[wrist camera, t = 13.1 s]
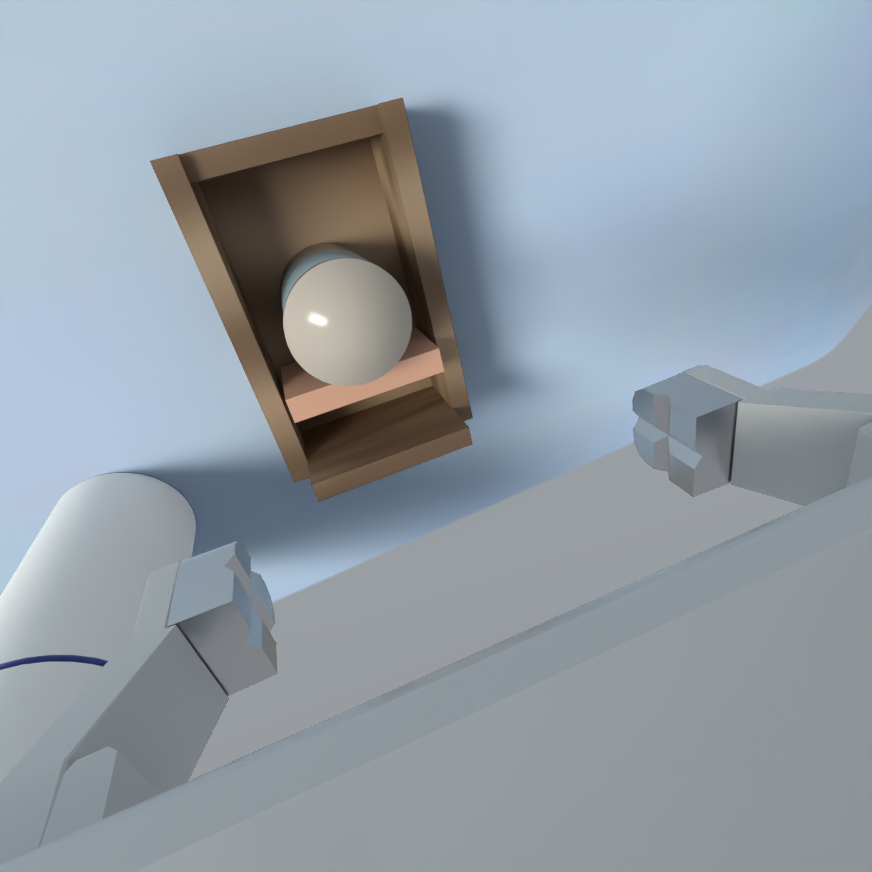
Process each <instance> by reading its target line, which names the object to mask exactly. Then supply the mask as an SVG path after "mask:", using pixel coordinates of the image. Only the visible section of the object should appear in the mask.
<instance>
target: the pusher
mask: <svg viewBox="0 0 872 872" xmlns="http://www.w3.org/2000/svg"><path fill="white" fill-rule="evenodd" d="M441 372H444V367H443V363H442V359H441V355H440V351H439V348H438V347H437V346H436V345H435V344H434V343H433V342H431V341H430V340H429V339H428V338H427V337H426V336H425V335H424V334H423V333H422V332H420V331H419V330H418V329H417V328H416V327H415V326H414V325H413V324H412V331H411V336H410V340H409V343H408V346H407V348H406V350H405V352H404V354H403V356H402V357H401V359H400V360H399V362H398V363H397V364H396V365H395V366H394V367H393V368H392V369H391V370H390V371H389V372H388V373H386V374H385V375H383V376H382V377H380V378H378V379H376V380H374V381H372V382H369V383H366V384H362V385H357V386H338V385H333V384H329V383H326V382H323V381H321V380H319V379H317V378H315V377H314V376H312V375H311V374H309V373H308V372H307V371H305V370H304V369H303V368H302V367H301V366H300V365H299V363H298V362H294V363H291V364H288V365H284V366H281V374H282V381H283V388H284V395H285V401H286V403H287V405H288V408H289V410H290V413H291V415H292V417H293V420H294V422H295V423H296V422H299V421H302V420H305V419H308V418H311V417H314V416H317V415H320V414H322V413H325V412H328V411H331V410H334V409H337V408H340V407H343V406H346V405H349V404H351V403H354V402H357V401H360V400H363V399H366V398H369V397H372V396H375V395H377V394H380V393H383V392H386V391H389V390H392V389H395V388H398V387H401V386H404V385H406V384H409V383H412V382H415V381H418V380H421V379H424V378H427V377H430V376H432V375H435V374H438V373H441Z"/></svg>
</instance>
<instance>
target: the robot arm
mask: <svg viewBox="0 0 872 872" xmlns="http://www.w3.org/2000/svg"><path fill="white" fill-rule="evenodd" d="M633 411H634V412H635V413H636V414H637V415H638V416H639V419H638V421H637V423H636V425H635V427H634V429H633V432H634V443H635V445H636V448H637V450H638V452H639V455H640V456H641V457H642V458H643V460H644V461H645V462H646V463H647V464H648V465H650V466H651V467H652V468H654V469H658V470H663V471H668V474H669V480H670V481H671V482H673V483H674V484H676V485H677V486H679V487H680V488H681V489H683V490H684V491H685V492H687V493H688V494H690V495H691V496H692V497H695V496H697V495H700V494H702V493H705V492H708V491H710V490H713V489H715V488H718V487H720V486H723V485H725V484H728V483H731V485H735V486H738V487H741V488H745V489H748V490H752V491H755V492H759V493H762V494H766V495H769V496H772V497H776V498H779V499H782V500H786V501H789V502H793V503H796V504H799V505H803V506H804V507H802V508H799V509H797V510H795V511H793V512H791V513H788V514H786V515H784V516H782V517H779V518H777V519H775V520H773V521H770V522H768V523H766V524H763V525H761V526H759V527H757V528H755V529H752V530H750V531H748V532H746V533H743V534H741V535H739V536H737V537H734V538H732V539H730V540H727V541H725V542H723V543H721V544H718V545H716V546H714V547H712V548H710V549H707V550H705V551H703V552H701V553H698V554H696V555H694V556H691V557H689V558H687V559H685V560H683V561H680V562H678V563H676V564H673V565H671V566H669V567H667V568H665V569H662V570H660V571H658V572H655V573H653V574H651V575H649V576H646V577H644V578H642V579H640V580H637V581H635V582H633V583H631V584H628V585H626V586H624V587H622V588H620V589H617V590H615V591H613V592H611V593H608V594H606V595H604V596H602V597H599V598H597V599H595V600H593V601H590V602H588V603H586V604H584V605H582V606H580V607H577V608H575V609H573V610H571V611H568V612H566V613H564V614H561V615H559V616H557V617H555V618H553V619H551V620H548V621H546V622H544V623H541V624H539V625H537V626H535V627H532V628H530V629H528V630H526V631H523V632H521V633H519V634H517V635H515V636H512V637H510V638H508V639H506V640H504V641H501V642H499V643H497V644H495V645H492V646H490V647H488V648H485V649H483V650H481V651H479V652H477V653H474V654H472V655H470V656H468V657H465V658H463V659H461V660H459V661H456V662H454V663H452V664H450V665H448V666H445V667H443V668H441V669H439V670H436V671H434V672H432V673H430V674H427V675H425V676H423V677H421V678H418V679H416V680H414V681H412V682H409V683H407V684H405V685H403V686H401V687H398V688H396V689H394V690H392V691H389V692H387V693H385V694H383V695H380V696H378V697H376V698H374V699H371V700H369V701H367V702H365V703H363V704H360V705H358V706H356V707H354V708H351V709H349V710H347V711H344V712H342V713H340V714H338V715H335V716H333V717H331V718H329V719H327V720H324V721H322V722H320V723H318V724H315V725H313V726H311V727H309V728H306V729H304V730H302V731H300V732H298V733H296V734H293V735H291V736H289V737H286V738H284V739H282V740H280V741H277V742H275V743H273V744H271V745H269V746H266V747H264V748H262V749H259V750H257V751H255V752H253V753H251V754H248V755H246V756H244V757H241V758H239V759H237V760H235V761H232V762H230V763H228V764H226V765H224V766H221V767H219V768H217V769H215V770H213V771H210V772H208V773H206V774H204V775H201V776H199V777H197V778H194V779H192V780H190V781H188V780H189V778H190V776H191V774H192V772H193V770H194V768H195V766H196V764H197V762H198V760H199V758H200V756H201V754H202V752H203V750H204V748H205V746H206V744H207V742H208V740H209V738H210V736H211V734H212V732H213V730H214V728H215V726H216V724H217V722H218V720H219V718H220V716H221V714H222V712H223V710H224V708H225V706H226V704H227V702H228V700H229V698H228V696H229V695H231V694H234V693H236V692H238V691H240V690H242V689H245V688H247V687H249V686H251V685H253V684H255V683H258V682H260V681H262V680H264V679H267V678H269V677H271V676H273V675H275V674H277V654H276V642H275V641H274V639H273V637H272V635H271V633H270V630H271V629H272V627H273V626H274V624H275V618H274V610H273V605H272V601H271V597H270V594H269V592H268V589H267V587H266V584H265V582H264V581H263V579H262V577H261V575H260V574H257V573H255V572H253V571H251V557H250V555H249V554H248V552H247V550H246V549H245V547H244V545H243V544H242V543H240V542H239V541H235V542H233V543H230V544H227V545H224V546H221V547H219V548H216V549H213V550H210V551H207V552H205V553H202V554H199V555H196V556H193V557H190V558H188V559H185V560H183V561H179V562H176V563H174V564H171V565H168V566H166V567H163V568H161V569H158V570H155V571H153V572H152V573H151V574H150V575H149V576H148V579H147V583H146V587H145V591H144V595H143V599H142V602H141V606H140V610H139V614H138V618H137V622H136V626H135V629H134V633H133V637H132V641H131V642H130V643H127V644H125V645H123V646H121V647H120V648H119V650H118V651H117V652H116V653H115V654H114V655H113V656H112V657H111V659H110V660H109V661H108V662H107V663H106V664H105V665H104V666H103V668H102V669H101V670H100V671H99V672H98V673H97V674H96V675H95V677H94V678H93V679H92V680H91V681H90V682H89V683H88V684H87V686H86V687H85V688H84V689H83V690H82V691H81V692H80V693H79V695H78V696H77V697H76V698H75V699H74V700H73V701H72V702H71V704H70V705H69V706H68V707H67V708H66V709H65V710H64V711H63V713H62V714H61V715H60V716H59V717H58V718H57V719H56V720H55V722H54V723H53V724H52V725H51V726H50V727H49V728H48V729H47V731H46V732H45V733H44V734H43V735H42V736H41V737H40V738H39V740H38V741H37V742H36V743H35V744H34V745H33V746H32V747H31V749H30V750H29V751H28V752H27V753H26V754H25V755H24V756H23V758H22V759H21V760H20V761H19V762H18V763H17V764H16V765H15V767H14V768H13V769H12V770H11V771H10V772H9V773H8V774H7V776H6V777H5V778H4V779H3V780H2V781H1V782H0V872H872V394H859V393H845V392H830V391H815V390H800V389H784V388H772V389H769V390H765V389H763V388H761V387H758V386H756V385H753V384H751V383H748V382H746V381H744V380H741V379H739V378H736V377H734V376H731V375H729V374H727V373H724V372H722V371H719V370H717V369H715V368H712V367H710V366H707V365H699V366H696V367H694V368H691V369H689V370H687V371H684V372H682V373H679V374H678V375H676V376H673V377H671V378H668V379H666V380H663V381H661V382H658V383H656V384H653V385H651V386H648V387H646V388H643V389H641V390H638V391H635V394H634V397H633Z"/></svg>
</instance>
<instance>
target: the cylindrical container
mask: <svg viewBox="0 0 872 872" xmlns="http://www.w3.org/2000/svg"><path fill="white" fill-rule="evenodd" d="M195 533H196V519H195V516H194V513H193V510H192V508H191V506H190V505H189V503H188V501H187V500H186V499H185V498H184V497H183V496H182V495H181V494H180V493H179V492H178V491H177V490H176V489H174V488H173V487H171V486H170V485H168V484H167V483H165V482H162V481H160V480H158V479H156V478H153V477H149V476H145V475H142V474H134V473H110V474H104V475H98V476H96V477H93V478H90V479H87V480H84V481H82V482H81V483H79V484H77V485H76V486H74V487H72V488H71V489H70V490H69V491H68V492H66V493H65V494H64V495H63V496H62V497H61V499H60V500H59V502H58V503H57V505H56V506H55V508H54V509H53V511H52V513H51V514H50V516H49V517H48V519H47V521H46V522H45V524H44V526H43V527H42V529H41V531H40V532H39V534H38V536H37V537H36V539H35V540H34V542H33V544H32V545H31V547H30V549H29V550H28V552H27V554H26V555H25V557H24V559H23V560H22V562H21V563H20V565H19V567H18V568H17V570H16V572H15V573H14V575H13V577H12V578H11V580H10V581H9V583H8V585H7V586H6V588H5V590H4V591H3V593H2V595H1V596H0V782H1V781H2V780H3V779H4V778H5V777H6V776H7V774H8V773H9V772H10V771H11V770H12V769H13V768H14V767H15V765H16V764H17V763H18V762H19V761H20V760H21V759H22V758H23V756H24V755H25V754H26V753H27V752H28V751H29V750H30V749H31V747H32V746H33V745H34V744H35V743H36V742H37V741H38V740H39V738H40V737H41V736H42V735H43V734H44V733H45V732H46V731H47V729H48V728H49V727H50V726H51V725H52V724H53V723H54V722H55V720H56V719H57V718H58V717H59V716H60V715H61V714H62V713H63V711H64V710H65V709H66V708H67V707H68V706H69V705H70V704H71V702H72V701H73V700H74V699H75V698H76V697H77V696H78V695H79V693H80V692H81V691H82V690H83V689H84V688H85V687H86V686H87V684H88V683H89V682H90V681H91V680H92V679H93V678H94V677H95V675H96V674H97V673H98V672H99V671H100V670H101V669H102V668H103V666H104V665H105V664H106V663H107V662H108V661H109V660H110V659H111V657H112V656H113V655H114V654H115V653H116V652H117V651H118V650H119V648H120V647H121V646H123V645H125V644H127V643H130V642H131V641H132V637H133V633H134V629H135V626H136V622H137V618H138V614H139V610H140V606H141V602H142V599H143V595H144V591H145V587H146V583H147V579H148V576H149V575H150V574H151V573H152V572H153V571H155V570H158V569H161V568H163V567H166V566H168V565H171V564H174V563H176V562H179V561H183V560H185V559H188V558H190V557H192V552H193V546H194V539H195Z"/></svg>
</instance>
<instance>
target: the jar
mask: <svg viewBox="0 0 872 872" xmlns="http://www.w3.org/2000/svg"><path fill="white" fill-rule="evenodd" d="M280 300H281V305H282V310H283V328H284V334H285V338H286V342H287V345H288V347H289V349H290V351H291V354H292V355H293V357H294V358H295V360H296V361H297V362H298V363H299V365H300V366H301V367H302V368H303V369H304V370H305V371H307V372H308V373H309V374H311V375H312V376H314V377H315V378H317V379H319V380H321V381H323V382H326V383H329V384H333V385H338V386H357V385H362V384H366V383H369V382H372V381H374V380H376V379H378V378H380V377H382V376H383V375H385V374H386V373H388V372H389V371H390V370H391V369H392V368H393V367H394V366H395V365H396V364H397V363H398V362H399V360H400V359H401V357H402V356H403V354H404V352H405V350H406V348H407V346H408V343H409V340H410V336H411V331H412V314H411V309H410V305H409V302H408V299H407V297H406V295H405V293H404V291H403V289H402V288H401V286H400V285H399V283H398V282H397V281H396V280H395V279H394V278H393V277H392V276H391V275H390V274H389V273H388V272H386V271H385V270H383V269H382V268H381V267H379V266H377V265H375V264H373V263H371V262H369V261H368V260H367V259H365V258H364V257H363V256H361V255H360V254H359V253H357V252H356V251H354V250H353V249H351V248H349V247H347V246H344V245H341V244H337V243H328V242H327V243H318V244H314V245H311V246H308V247H306V248H304V249H302V250H301V251H299V252H298V253H297V254H296V255H295V256H294V257H293V258H292V259H291V260H290V261H289V262H288V264H287V266H286V267H285V269H284V271H283V274H282V277H281V281H280Z"/></svg>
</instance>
